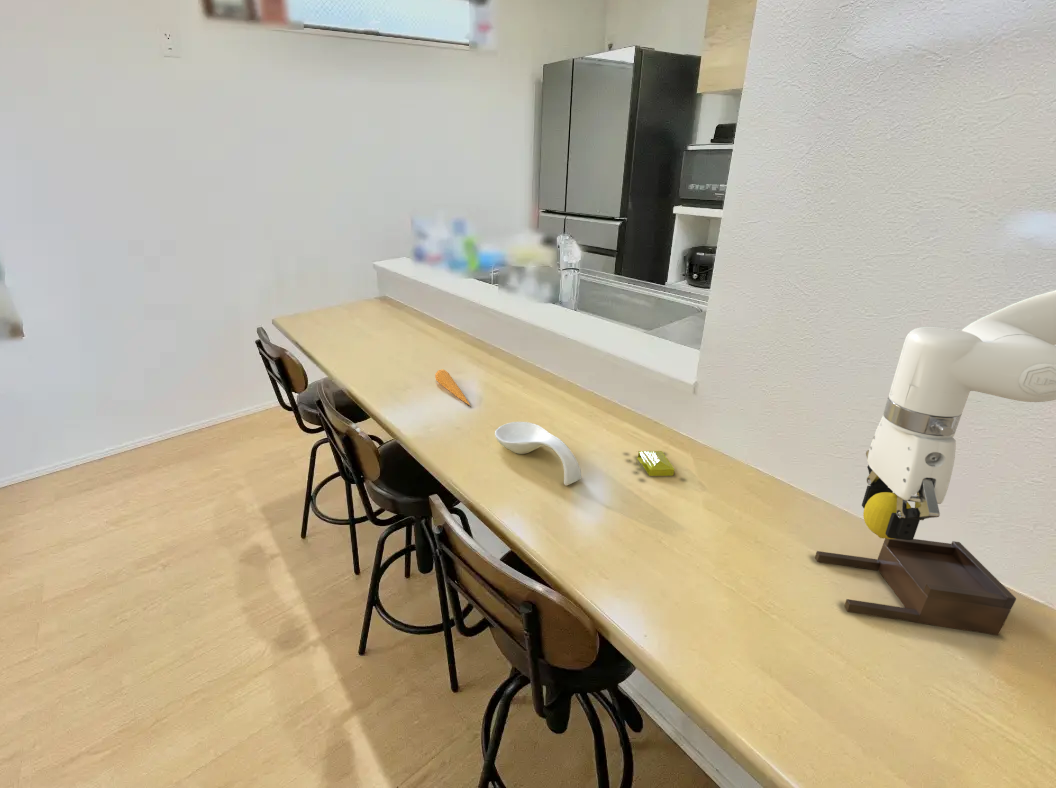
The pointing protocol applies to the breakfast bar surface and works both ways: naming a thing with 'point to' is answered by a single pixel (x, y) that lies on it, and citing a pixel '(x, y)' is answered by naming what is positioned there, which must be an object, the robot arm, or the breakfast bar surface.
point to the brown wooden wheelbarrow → (933, 585)
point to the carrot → (450, 384)
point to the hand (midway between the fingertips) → (886, 521)
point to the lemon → (880, 512)
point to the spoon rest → (538, 445)
